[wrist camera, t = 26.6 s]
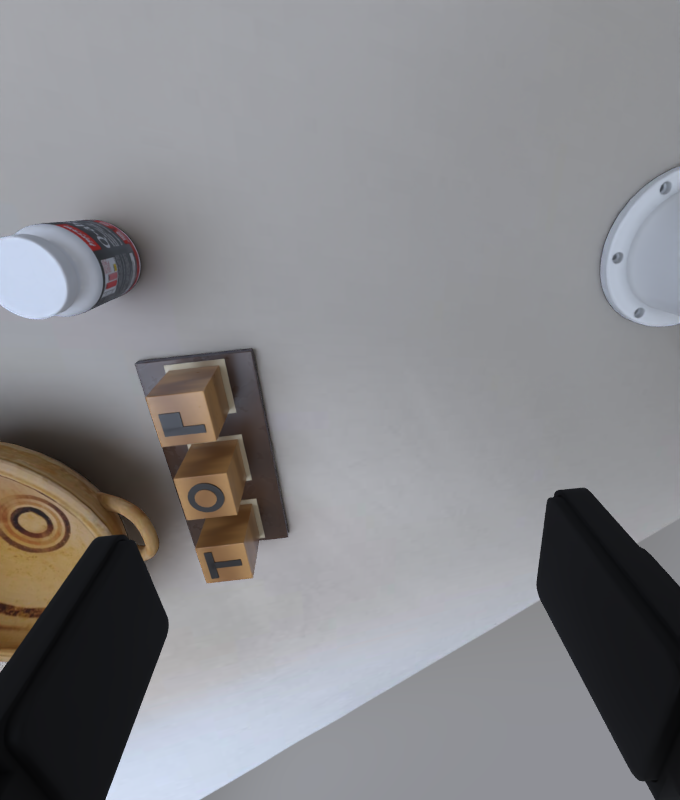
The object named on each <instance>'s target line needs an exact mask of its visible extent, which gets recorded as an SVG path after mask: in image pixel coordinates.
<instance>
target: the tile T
mask: <svg viewBox="0 0 680 800" xmlns="http://www.w3.org/2000/svg"><path fill="white" fill-rule="evenodd" d="M259 539H260V534H259V530H258V526H257V522H256V518H255V513H254V509H253V505H252V504H244V505H240V506H239V510H238V514H237V515H231V516H222V517H213V518H206V519H205V522H204V525H203V528H202V531H201V534H200V536H199V539H198V542H197V545H196V548H195V549H196V553H197V556H198V559H199V562H200V565H201V568H202V571H203V574H204V577H205V580H206V583H214V582H222V581H231V580H240V579H249V578H253V575H254V569H255V563H256V557H257V551H258V545H259Z"/></svg>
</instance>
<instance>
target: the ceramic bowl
mask: <svg viewBox="0 0 680 800" xmlns="http://www.w3.org/2000/svg"><path fill="white" fill-rule="evenodd" d="M117 513H119V514H121V515H123V516H125V517H126V518H128V519H129V520H130V521H131V522H132V523H133V524H134V525H135V526H136V527H137V529H138V530H139V532H140V534H141V536H142V538H143V540H144V542H145V546H143V545H137V547H138V549H139V551H140V554H141V556H142V558H143V561H146V560H149V559H151V558H152V557H153V556H154V555H155V554H156V552H157V551H158V548H159V539H158V536H157V533H156V530H155V528H154V526H153V525H152V523H151V521H150V519H149V518H148V516H147V515H146V514H145V513H144V512H143V511H142V510H141V509H140V508H139V507H137V506H136V505H134V504H133V503H131V502H129V501H127V500H125V499H122V498H119V497H117V496H114V495H110V494H106V493H102V492H100V490H99V489H98V488H97V487H96V486H94V485H93V484H92V483H91V482H90V481H88V480H87V479H86V478H85V477H84V476H83V475H81V474H80V473H78V472H77V471H75V470H74V469H72V468H70V467H69V466H67V465H66V464H64V463H62V462H60V461H58V460H56V459H54V458H52V457H49V456H47V455H45V454H43V453H40V452H37V451H34V450H31V449H28V448H25V447H22V446H19V445H16V444H11V443H6V442H0V662H8V661H9V660H10V658H11V657H12V655H13V654H14V652H15V651H16V650H17V648H18V647H19V645H20V644H21V642H22V641H23V640H24V638H25V637H26V635H27V634H28V632H29V631H30V630H31V628H32V627H33V625H34V624H35V622H36V621H37V619H38V618H39V617H40V615H41V614H42V612H43V611H44V609H45V608H46V607H47V605H48V604H49V602H50V601H51V599H52V598H53V597H54V595H55V594H56V592H57V591H58V589H59V588H60V587H61V585H62V584H63V582H64V581H65V579H66V578H67V577H68V575H69V574H70V572H71V571H72V569H73V568H74V567H75V565H76V564H77V562H78V561H79V559H80V558H81V557H82V555H83V554H84V552H85V551H86V549H87V548H88V546H89V545H90V544H91V542H92V541H93V540H94V539H95V538H97V537H100V536H110V535H120V534H124V535H126V536H127V533H126V530H125V528H124V525H123V523H122V520H121V518H120V517H119V515H118V514H117ZM127 537H128V536H127Z"/></svg>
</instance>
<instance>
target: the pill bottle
mask: <svg viewBox="0 0 680 800" xmlns="http://www.w3.org/2000/svg"><path fill="white" fill-rule="evenodd" d="M140 269H141V264H140V258H139V254H138V251H137V249H136V247H135V245H134V244H133V242H132V241H131V239H130V238H129V237H128V236H127V235H126V234H125V233H124V232H123V231H121V230H120V229H119V228H117V227H115V226H114V225H112V224H109V223H107V222H103V221H98V220H81V221H68V222H56V223H42V224H35V225H30V226H27V227H25V228H23V229H21V230H19V231H18V232H16V233H15V234H14V235H11V236H5V237H1V238H0V305H2V306H3V307H4V308H6V309H7V310H9V311H10V312H12V313H14V314H16V315H18V316H21V317H24V318H28V319H46V318H50V317H52V316H65V317H66V316H75V315H79V314H82V313H85V312H87V311H89V310H91V309H93V308H95V307H97V306H100V305H102V304H104V303H106V302H108V301H110V300H113V299H115V298H117V297H119V296H121V295H123V294H125V293H127V292H128V291H130V290H131V289H132V288H133V287H134V286H135V284H136V283H137V281H138V278H139V275H140Z"/></svg>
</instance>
